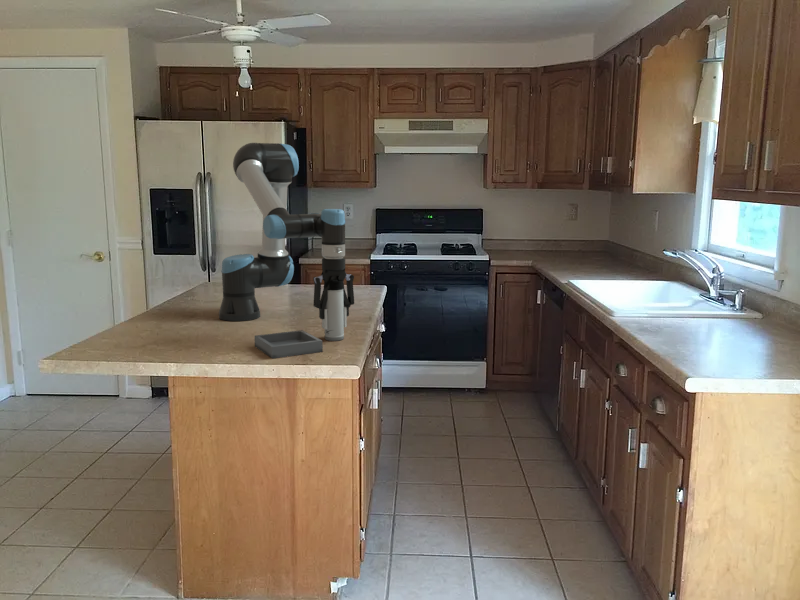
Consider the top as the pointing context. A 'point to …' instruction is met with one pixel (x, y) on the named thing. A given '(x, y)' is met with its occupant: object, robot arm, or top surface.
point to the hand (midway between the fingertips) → (334, 327)
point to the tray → (288, 344)
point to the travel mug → (335, 311)
